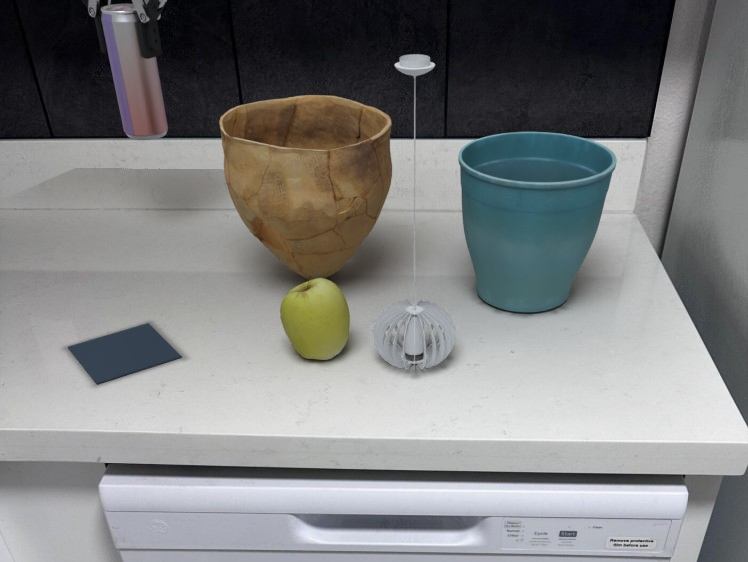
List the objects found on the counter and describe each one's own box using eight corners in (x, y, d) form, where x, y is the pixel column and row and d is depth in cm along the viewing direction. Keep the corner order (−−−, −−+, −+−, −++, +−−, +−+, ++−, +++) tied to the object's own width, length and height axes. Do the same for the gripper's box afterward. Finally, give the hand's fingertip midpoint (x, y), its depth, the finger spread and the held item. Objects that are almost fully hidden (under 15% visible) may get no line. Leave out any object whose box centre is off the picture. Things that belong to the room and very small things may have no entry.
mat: (67, 348, 93) (67, 346, 92) (148, 324, 97) (148, 322, 97) (96, 384, 86) (96, 383, 86) (181, 357, 91) (181, 356, 91)
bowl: (418, 262, 110) (419, 103, 96) (351, 325, 96) (341, 151, 83) (289, 238, 116) (273, 87, 103) (209, 295, 103) (179, 128, 89)
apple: (374, 338, 91) (350, 266, 83) (325, 381, 89) (296, 311, 81) (330, 316, 96) (303, 246, 88) (282, 356, 93) (250, 288, 85)
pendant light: (356, 358, 90) (341, 58, 70) (413, 330, 95) (414, 42, 75) (414, 389, 85) (415, 75, 65) (471, 358, 90) (489, 57, 70)
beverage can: (116, 138, 109) (89, 9, 99) (140, 126, 113) (116, 2, 103) (154, 142, 107) (130, 12, 97) (176, 131, 112) (156, 5, 102)
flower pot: (591, 333, 94) (616, 186, 83) (442, 320, 97) (447, 176, 85) (595, 270, 107) (617, 135, 96) (463, 260, 110) (469, 128, 98)
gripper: (18, -126, 92) (60, 52, 104) (137, -120, 86) (167, 67, 99) (63, -128, 97) (99, 42, 109) (179, -123, 92) (203, 55, 104)
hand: (131, 52), depth 104 cm, fingers closed on beverage can, 6 cm apart
